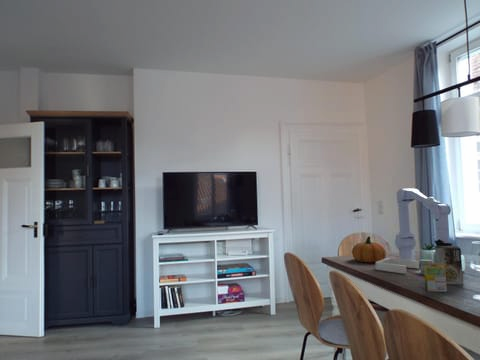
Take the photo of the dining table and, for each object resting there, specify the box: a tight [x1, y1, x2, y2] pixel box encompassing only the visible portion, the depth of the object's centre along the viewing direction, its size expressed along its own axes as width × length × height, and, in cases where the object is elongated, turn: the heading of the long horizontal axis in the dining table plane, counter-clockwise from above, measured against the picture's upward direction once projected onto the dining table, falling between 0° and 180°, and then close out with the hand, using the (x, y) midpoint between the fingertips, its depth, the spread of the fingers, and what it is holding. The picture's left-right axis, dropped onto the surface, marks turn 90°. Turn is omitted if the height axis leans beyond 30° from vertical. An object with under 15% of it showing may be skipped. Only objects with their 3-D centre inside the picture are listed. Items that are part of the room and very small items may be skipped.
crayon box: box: [424, 262, 448, 293], centre depth 138 cm, size 7×3×12 cm, turn 78°
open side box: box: [375, 257, 420, 274], centre depth 181 cm, size 18×16×4 cm
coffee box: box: [434, 245, 464, 286], centre depth 150 cm, size 9×6×16 cm
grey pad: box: [413, 269, 425, 276], centre depth 169 cm, size 9×9×1 cm
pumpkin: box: [351, 236, 387, 264], centre depth 205 cm, size 19×19×15 cm
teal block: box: [419, 259, 433, 273], centre depth 170 cm, size 4×5×6 cm
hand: (443, 256), depth 164 cm, fingers open, 7 cm apart
